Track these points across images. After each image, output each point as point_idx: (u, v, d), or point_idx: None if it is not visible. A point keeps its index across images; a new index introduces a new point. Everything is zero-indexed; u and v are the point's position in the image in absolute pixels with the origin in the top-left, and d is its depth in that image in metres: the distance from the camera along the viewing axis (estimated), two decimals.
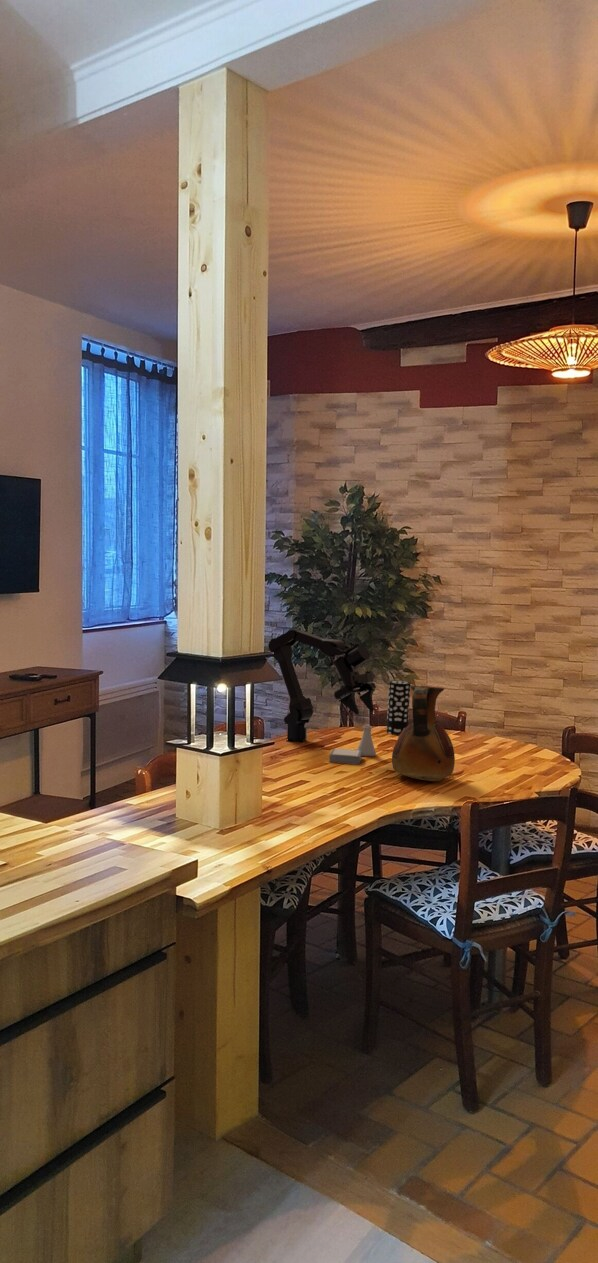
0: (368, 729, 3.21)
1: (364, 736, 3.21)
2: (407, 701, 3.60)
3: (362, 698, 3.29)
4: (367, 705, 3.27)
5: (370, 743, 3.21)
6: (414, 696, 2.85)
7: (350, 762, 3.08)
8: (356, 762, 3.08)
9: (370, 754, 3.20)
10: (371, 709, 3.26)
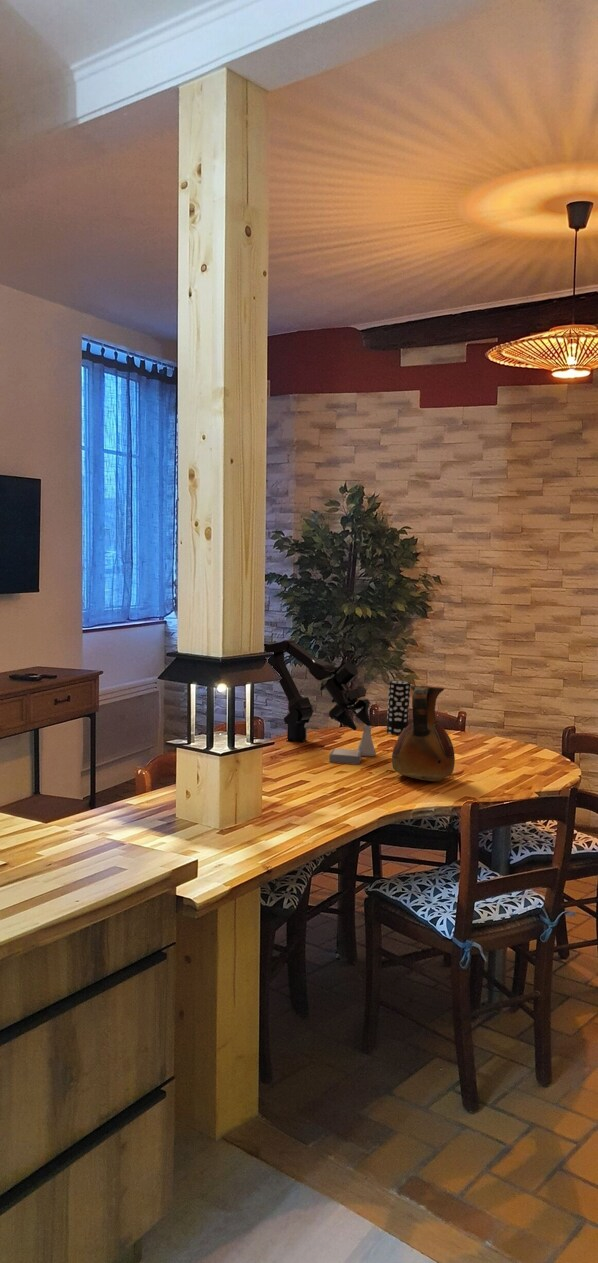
0: (368, 729, 3.21)
1: (363, 736, 3.21)
2: (407, 701, 3.60)
3: (358, 716, 3.30)
4: (364, 721, 3.28)
5: (370, 743, 3.21)
6: (414, 696, 2.85)
7: (350, 762, 3.08)
8: (356, 762, 3.08)
9: (370, 754, 3.20)
10: (369, 724, 3.27)
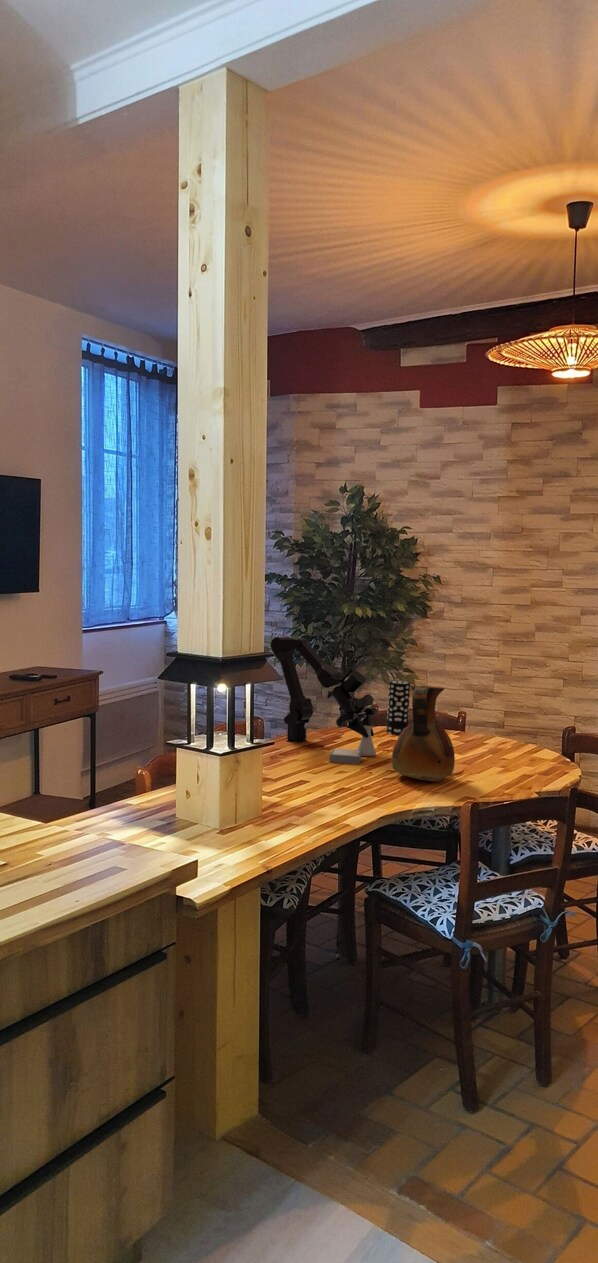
0: (368, 729, 3.21)
1: None
2: (407, 701, 3.60)
3: None
4: None
5: (370, 743, 3.21)
6: (414, 696, 2.85)
7: (350, 762, 3.08)
8: (356, 762, 3.08)
9: (370, 754, 3.20)
10: (371, 734, 3.23)
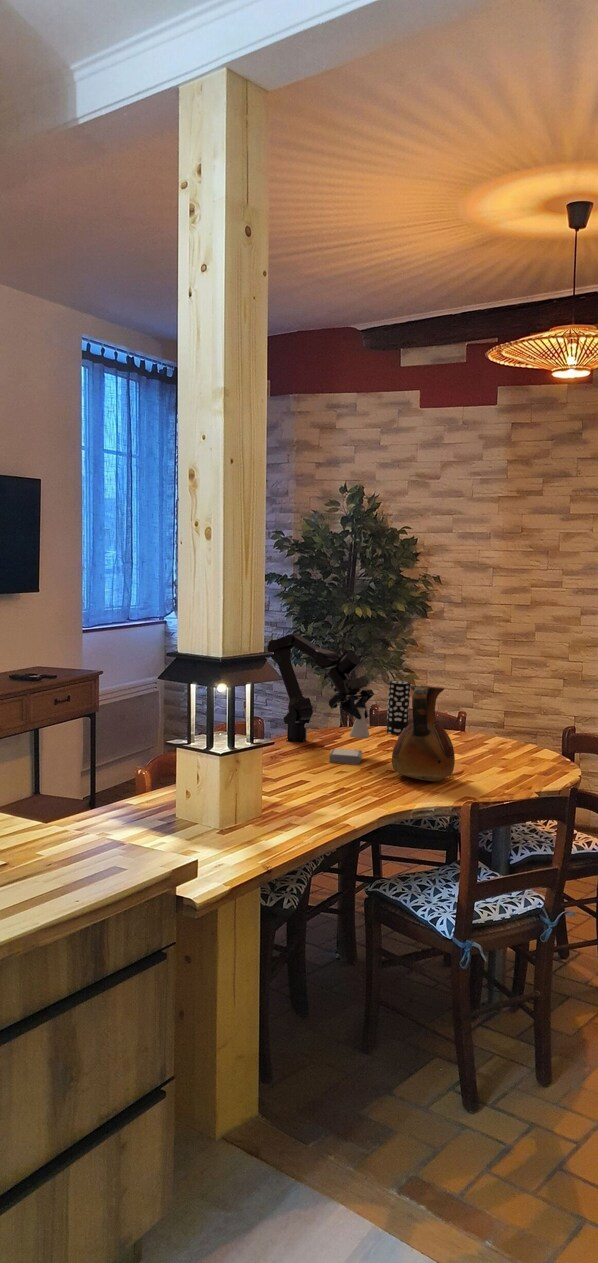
0: (361, 711, 3.18)
1: None
2: (407, 701, 3.60)
3: (356, 707, 3.24)
4: None
5: (363, 725, 3.18)
6: (414, 696, 2.85)
7: (350, 762, 3.08)
8: (356, 762, 3.08)
9: (363, 736, 3.17)
10: (365, 716, 3.20)
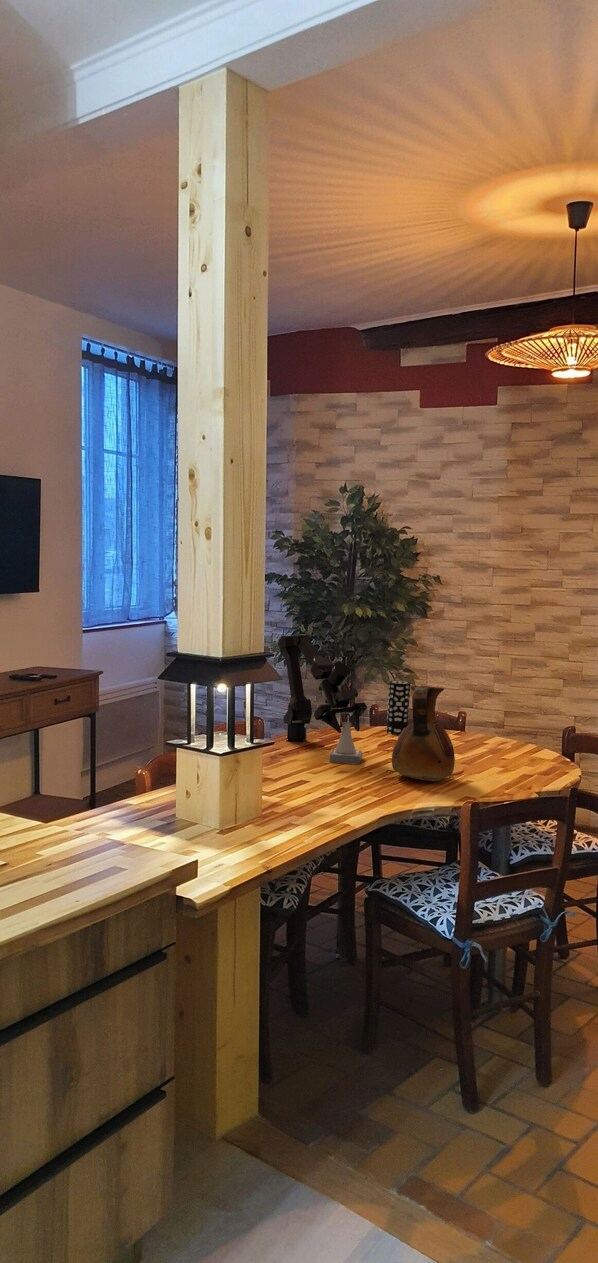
0: (346, 726, 3.11)
1: (342, 732, 3.12)
2: (407, 701, 3.60)
3: (351, 719, 3.18)
4: (354, 725, 3.15)
5: (347, 740, 3.11)
6: (414, 696, 2.85)
7: (350, 762, 3.08)
8: (356, 762, 3.08)
9: (346, 751, 3.10)
10: (357, 729, 3.14)
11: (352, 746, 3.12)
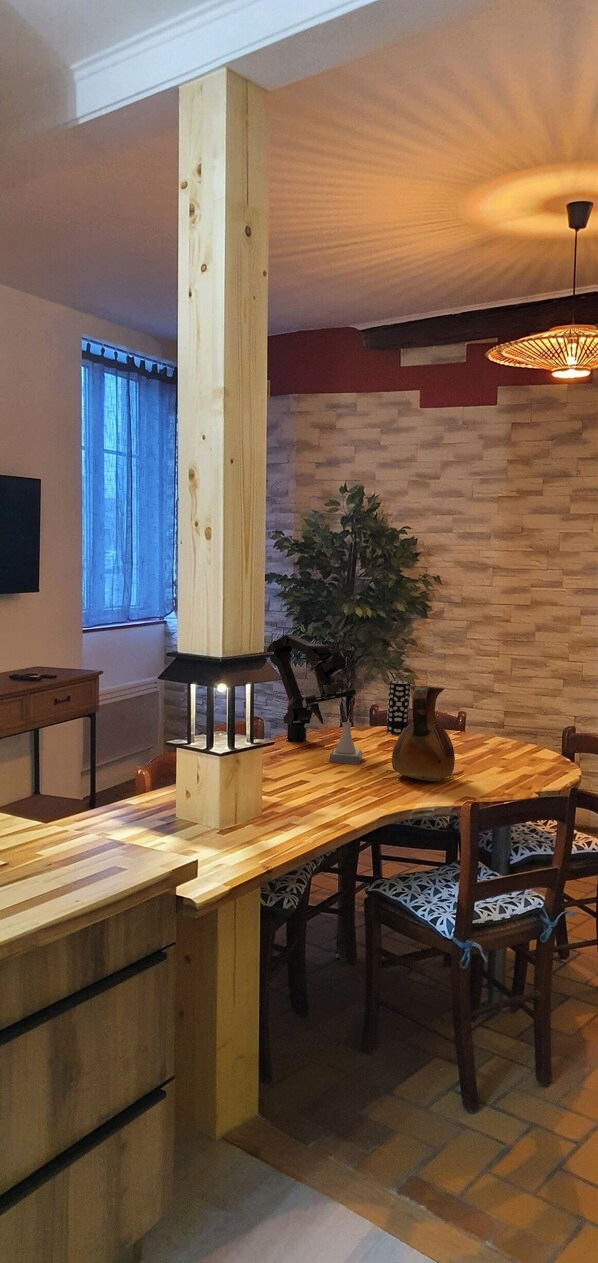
0: (346, 726, 3.11)
1: (342, 732, 3.12)
2: (407, 701, 3.60)
3: (343, 704, 3.27)
4: (345, 712, 3.25)
5: (347, 740, 3.11)
6: (414, 696, 2.85)
7: (350, 762, 3.08)
8: (356, 762, 3.08)
9: (346, 751, 3.10)
10: (346, 717, 3.24)
11: (352, 746, 3.12)
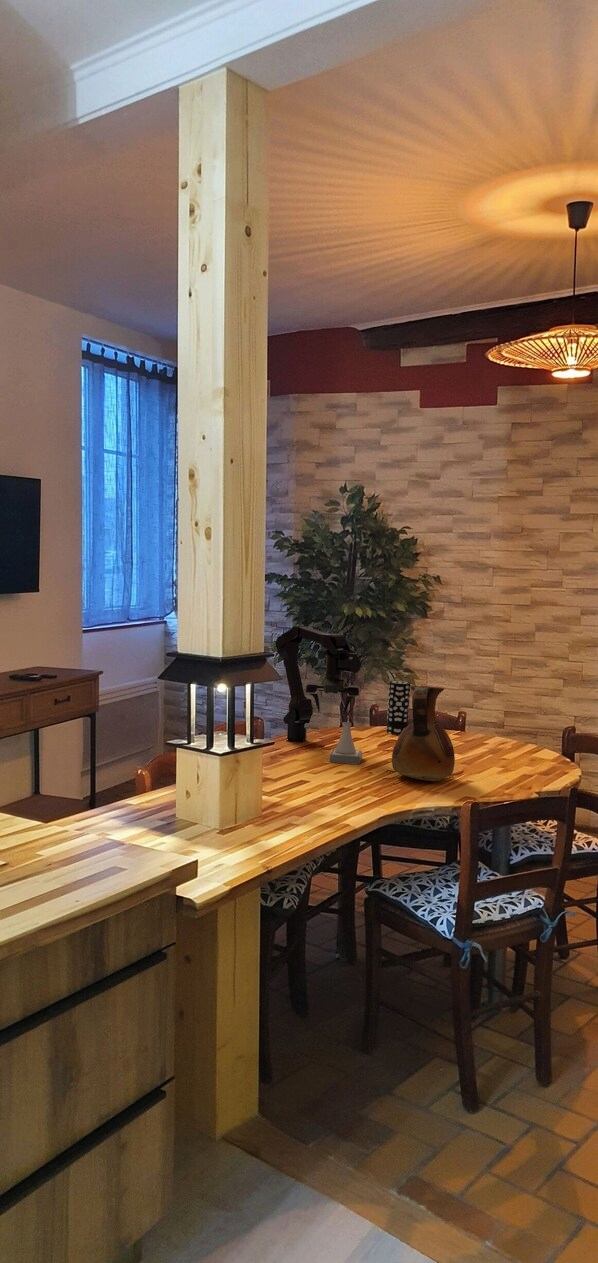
0: (346, 726, 3.11)
1: (342, 732, 3.12)
2: (407, 701, 3.60)
3: None
4: None
5: (347, 740, 3.11)
6: (414, 696, 2.85)
7: (350, 762, 3.08)
8: (356, 762, 3.08)
9: (346, 751, 3.10)
10: (344, 712, 3.27)
11: (352, 746, 3.12)
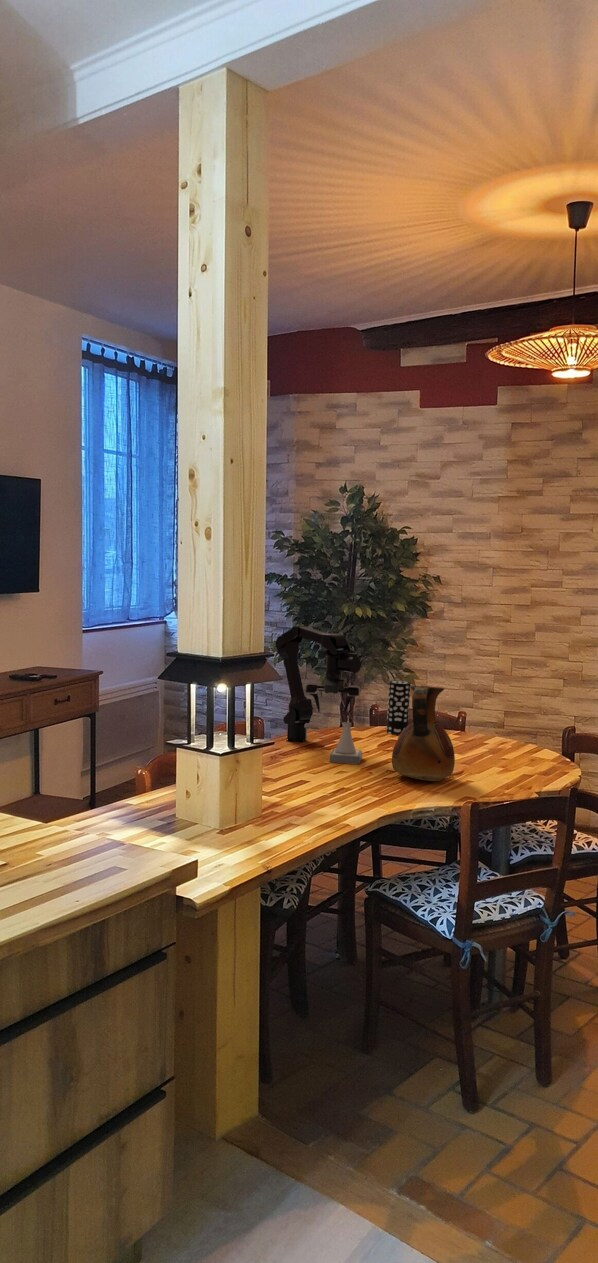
0: (346, 726, 3.11)
1: (342, 732, 3.12)
2: (407, 701, 3.60)
3: None
4: None
5: (347, 740, 3.11)
6: (414, 696, 2.85)
7: (350, 762, 3.08)
8: (356, 762, 3.08)
9: (346, 751, 3.10)
10: None
11: (352, 746, 3.12)
